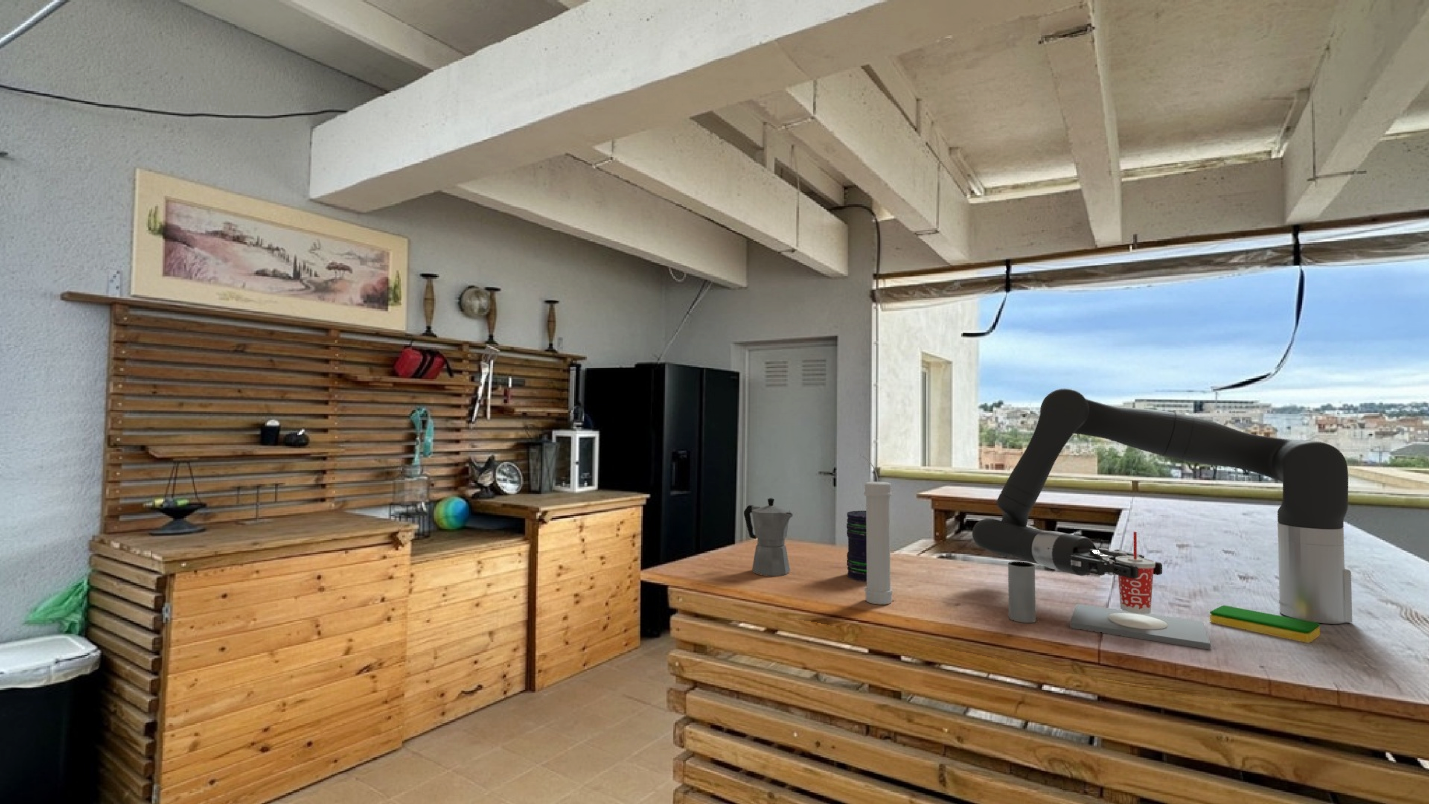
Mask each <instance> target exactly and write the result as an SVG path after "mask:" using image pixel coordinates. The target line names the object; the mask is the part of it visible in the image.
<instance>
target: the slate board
mask: <svg viewBox="0 0 1429 804" xmlns="http://www.w3.org/2000/svg"><path fill="white" fill-rule="evenodd" d="M1069 627H1070V628H1069V629H1074V630H1080V629H1083V630H1082V631H1087V630H1088V632H1093V631H1095V632H1094V633H1100V632H1102V633H1101V634H1106V633H1107V635H1113V636H1119V635H1121V636H1120V637H1126V638H1132V639H1139V640H1146V641H1152V642H1159V643H1164V644H1170V645H1171V644H1173V645H1177V646H1185V647H1191V648H1196V647H1197V649H1203V650H1209V651H1210V650H1212V649H1211V647H1212V646H1211V641H1210V637H1209V634H1208V631H1207V628H1206V625H1205V622H1204V620H1198V619H1192V618H1191V619H1190V618H1184V617H1177V616H1176V617H1175V616H1170V615H1162V614H1155V613H1149V614H1137V613H1131V612H1127V611H1124V610H1122V609H1117V608H1110V607H1104V606H1097V605H1087V604H1082V603H1076V605H1075V607H1074V610H1073V614H1072V616H1071V620H1070V623H1069Z"/></svg>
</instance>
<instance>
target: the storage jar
mask: <svg viewBox="0 0 1429 804" xmlns="http://www.w3.org/2000/svg"><path fill="white" fill-rule="evenodd" d="M846 516H847V519H846V536H847V541H848V542H847V545H848V546H847V553H846V568H847V578H849V579H851V580H853V581H858V582H865V583H867V534H866V510H852V511H847V512H846Z"/></svg>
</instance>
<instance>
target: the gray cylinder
mask: <svg viewBox="0 0 1429 804" xmlns="http://www.w3.org/2000/svg"><path fill="white" fill-rule="evenodd" d="M1007 576H1008V577H1007V578H1008V579H1007V580H1008V581H1007V582H1008V583H1007V584H1008V589H1007V590H1008V594H1007V595H1008V618H1009V619H1010V620H1011V621H1013V620H1014V622H1016V623H1017V622H1018V623H1024V624H1025V623H1026V624H1029V623H1030V624H1031V623H1034V622H1036V619H1037V618H1036V616H1037V615H1036V565H1035V563H1032V562H1028V561H1021V560H1020V561H1019V560H1018V561H1016V560H1015V561H1009V562H1008V563H1007Z"/></svg>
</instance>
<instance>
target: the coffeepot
mask: <svg viewBox="0 0 1429 804" xmlns="http://www.w3.org/2000/svg"><path fill="white" fill-rule="evenodd" d="M774 503H775V499H774V498H772V497H769V498H767V504H768V505H765V506H757V505H752V504H749V505H747V507H746V508H745V509H744V511H743V516H744V520H745V524H746V529H747V532H748V536H749V538H751V539H755V540H756V539H757V544H756V546H755V551H754V557H753V563H752V567H751V568H752V569H751V571H752V572H753V573H754V572H755V573H756V575H758V574H762V575H767V576H766V577H782V576H785V575H788V574H789V572H791V569H790V564H789V563H790V562H789V558H788V557H789V556H788V551H787V546H786V542H785V539H786V538H787V536H788V528H789V521H790V520H791V518H792V517H793V514H794V513H792V512H791V510H789V509H786V508H783V507H780V506H775V505H774ZM751 515H752V516H751ZM752 521H753V524H752ZM755 573H754V574H755ZM762 575H761V576H762ZM779 575H780V576H779ZM781 575H782V576H781Z"/></svg>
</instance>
